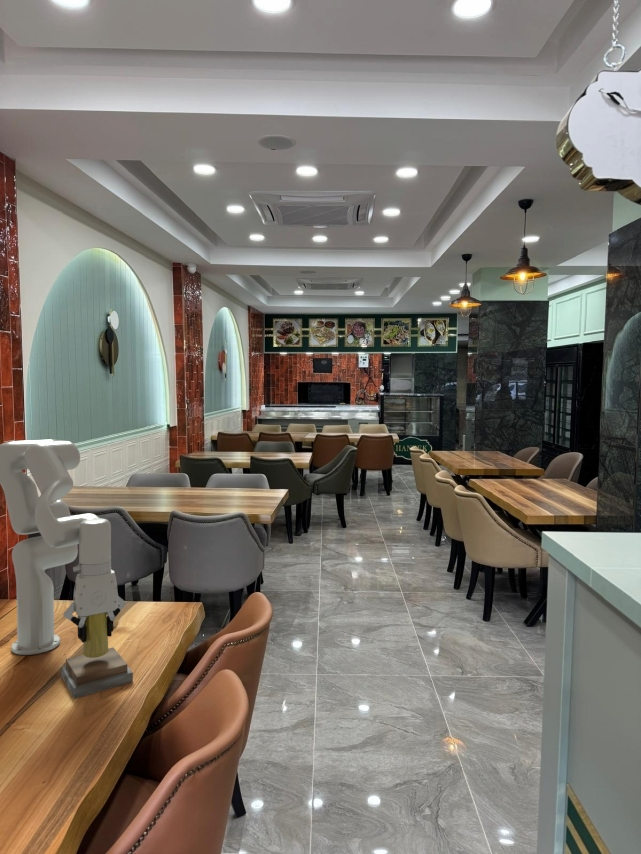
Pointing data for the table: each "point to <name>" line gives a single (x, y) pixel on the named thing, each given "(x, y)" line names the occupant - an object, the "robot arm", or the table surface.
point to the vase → (96, 636)
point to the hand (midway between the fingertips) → (95, 637)
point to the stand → (95, 673)
